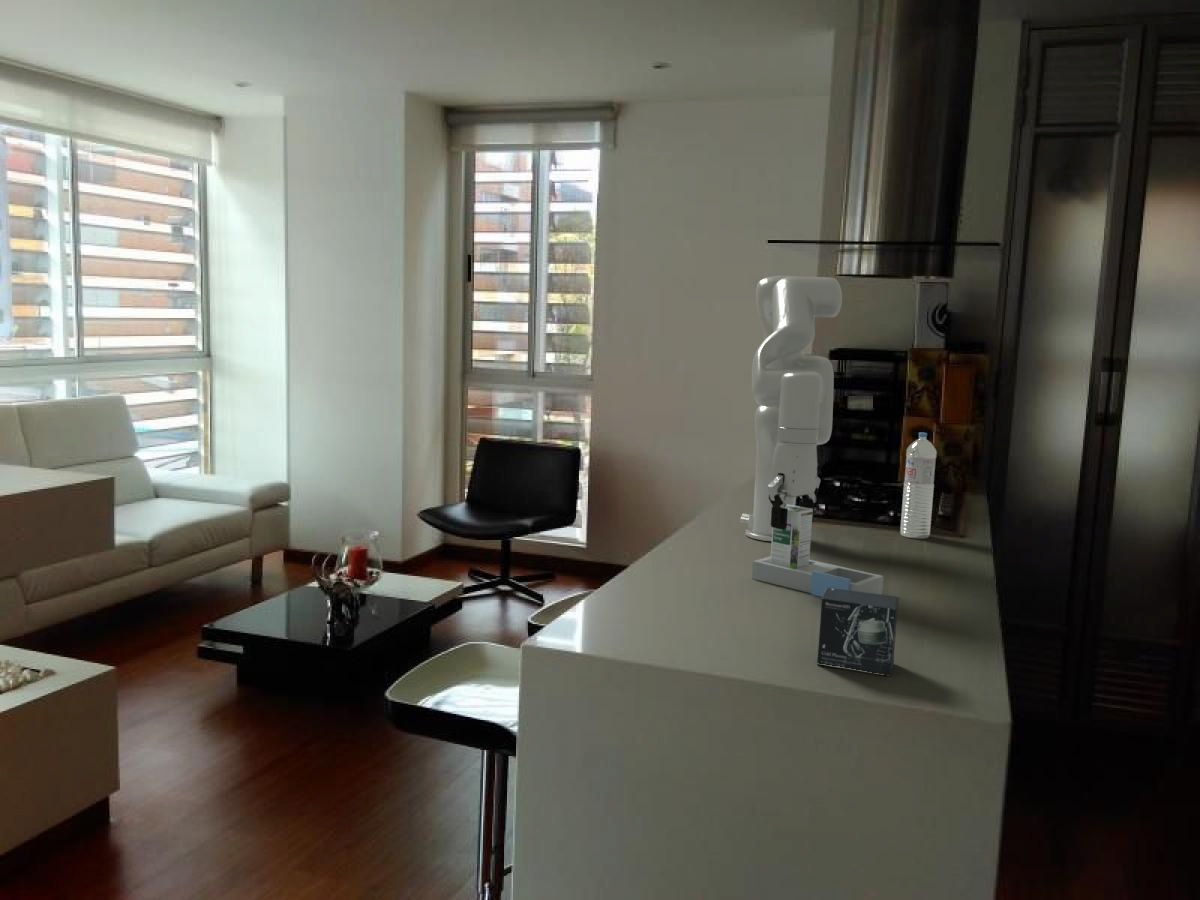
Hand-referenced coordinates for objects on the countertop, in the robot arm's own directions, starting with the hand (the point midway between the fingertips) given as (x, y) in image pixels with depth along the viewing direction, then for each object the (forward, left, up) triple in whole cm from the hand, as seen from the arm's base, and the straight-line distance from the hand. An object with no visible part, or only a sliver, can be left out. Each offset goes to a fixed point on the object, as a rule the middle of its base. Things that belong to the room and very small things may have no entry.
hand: (792, 525), depth 185 cm
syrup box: (0, 0, -11) cm, 11 cm away
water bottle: (-1, +58, -11) cm, 60 cm away
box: (+32, -33, -11) cm, 47 cm away
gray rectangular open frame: (+6, 0, -11) cm, 12 cm away
